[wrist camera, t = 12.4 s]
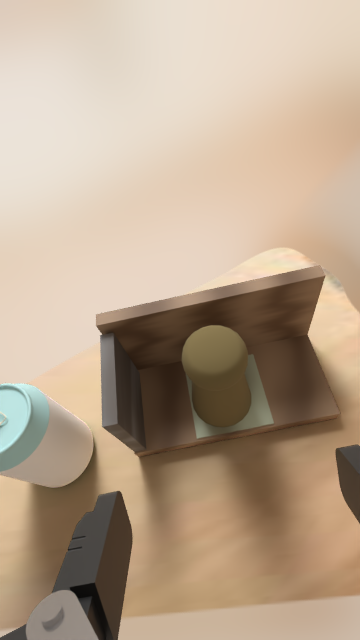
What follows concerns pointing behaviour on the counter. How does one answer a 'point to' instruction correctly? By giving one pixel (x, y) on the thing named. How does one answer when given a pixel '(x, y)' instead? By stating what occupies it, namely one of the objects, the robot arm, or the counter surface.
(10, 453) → the can
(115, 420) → the shelf
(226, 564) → the counter surface
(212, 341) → the cork
